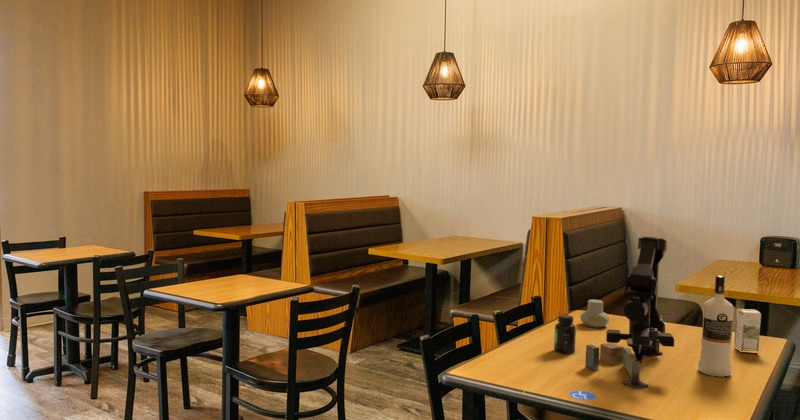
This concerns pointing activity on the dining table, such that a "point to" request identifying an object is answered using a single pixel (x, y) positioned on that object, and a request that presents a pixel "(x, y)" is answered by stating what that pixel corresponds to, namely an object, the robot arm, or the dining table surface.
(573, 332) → the supplement bottle
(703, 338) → the vodka
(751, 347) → the syrup box
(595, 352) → the latch stile
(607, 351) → the reddish brown cube
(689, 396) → the dining table surface
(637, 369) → the hinge post
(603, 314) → the air freshener
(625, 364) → the grey slab
